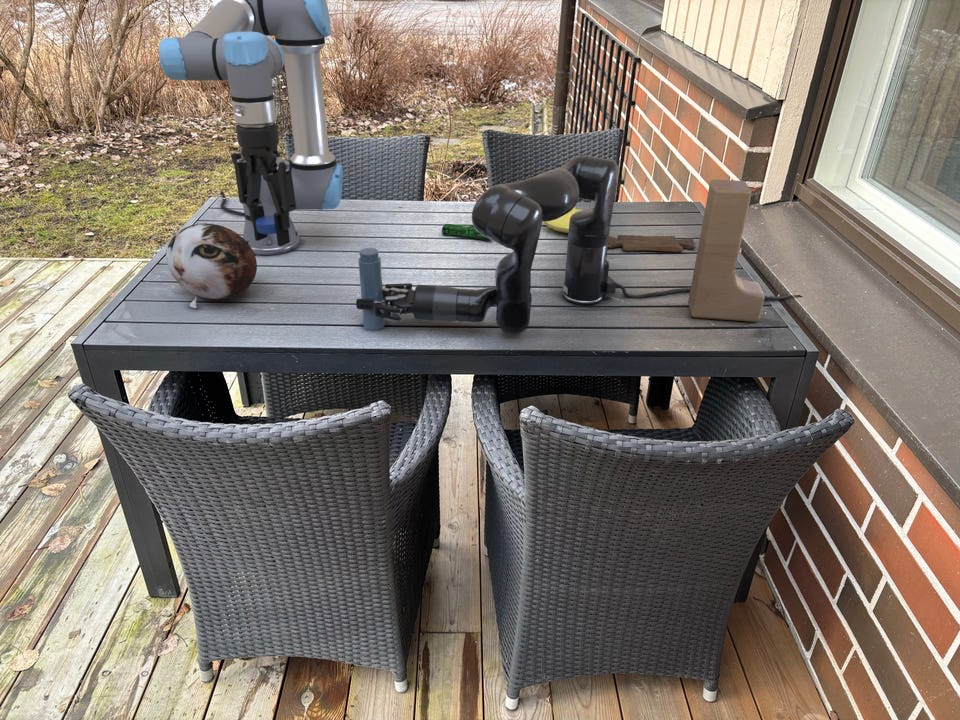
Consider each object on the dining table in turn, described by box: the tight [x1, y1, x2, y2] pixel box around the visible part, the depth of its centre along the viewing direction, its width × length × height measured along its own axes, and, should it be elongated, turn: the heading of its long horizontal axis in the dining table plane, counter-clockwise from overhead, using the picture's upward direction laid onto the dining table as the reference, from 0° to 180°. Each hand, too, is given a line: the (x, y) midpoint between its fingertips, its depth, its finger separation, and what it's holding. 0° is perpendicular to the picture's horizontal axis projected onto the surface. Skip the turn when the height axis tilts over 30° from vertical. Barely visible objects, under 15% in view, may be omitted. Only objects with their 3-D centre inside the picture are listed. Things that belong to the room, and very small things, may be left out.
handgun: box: [441, 223, 492, 242], centre depth 207 cm, size 16×3×15 cm
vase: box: [543, 206, 583, 234], centre depth 209 cm, size 16×16×7 cm
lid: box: [256, 216, 276, 234], centre depth 143 cm, size 6×6×2 cm
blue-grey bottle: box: [357, 247, 386, 331], centre depth 153 cm, size 5×5×18 cm
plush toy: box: [165, 222, 258, 309], centre depth 165 cm, size 22×18×20 cm
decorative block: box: [687, 178, 765, 323], centre depth 157 cm, size 8×15×30 cm, turn 82°
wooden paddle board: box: [608, 234, 695, 253], centre depth 200 cm, size 26×2×10 cm
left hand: (272, 240), depth 145 cm, fingers closed on lid, 5 cm apart
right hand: (360, 298), depth 155 cm, fingers closed on blue-grey bottle, 4 cm apart
